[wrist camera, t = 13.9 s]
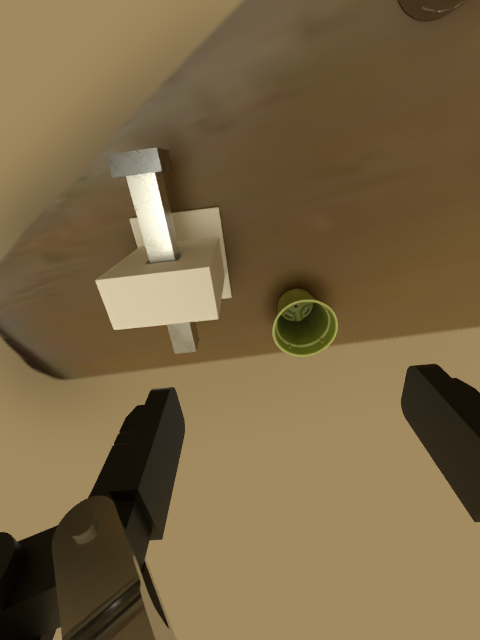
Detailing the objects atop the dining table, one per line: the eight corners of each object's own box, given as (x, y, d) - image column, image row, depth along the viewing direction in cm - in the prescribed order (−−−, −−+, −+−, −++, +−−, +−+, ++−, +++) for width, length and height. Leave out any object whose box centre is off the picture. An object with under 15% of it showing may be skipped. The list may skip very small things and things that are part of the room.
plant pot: (258, 316, 49) (261, 343, 41) (283, 269, 45) (292, 289, 37) (304, 335, 51) (315, 365, 43) (333, 291, 47) (351, 315, 39)
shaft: (124, 157, 31) (105, 154, 27) (168, 150, 31) (156, 147, 27) (173, 339, 42) (166, 358, 38) (206, 335, 42) (202, 355, 38)
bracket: (131, 217, 41) (75, 241, 27) (218, 206, 41) (207, 225, 26) (156, 303, 48) (120, 359, 34) (231, 295, 47) (227, 348, 33)
